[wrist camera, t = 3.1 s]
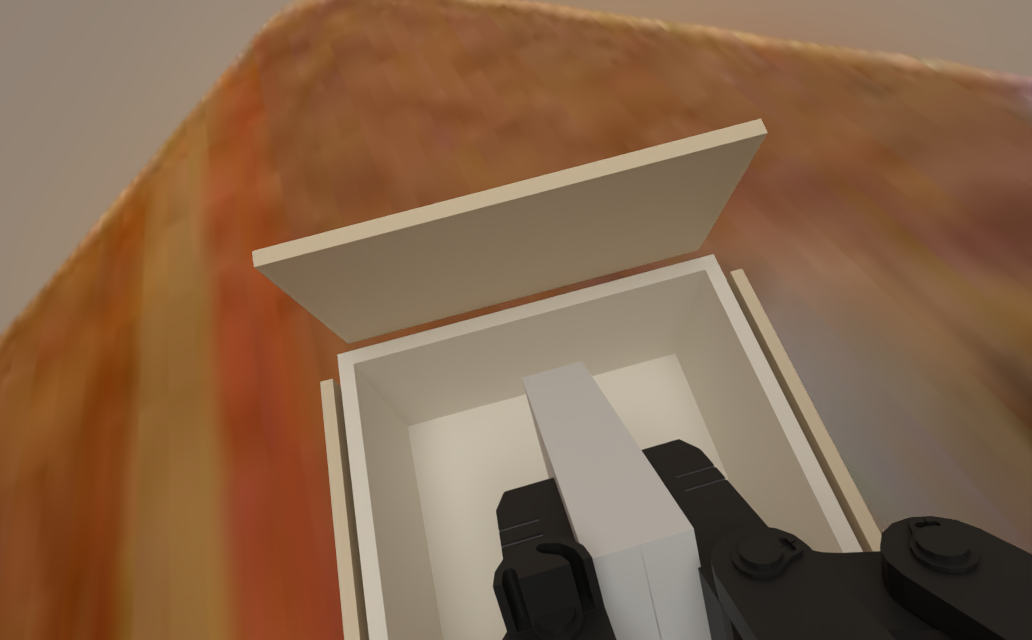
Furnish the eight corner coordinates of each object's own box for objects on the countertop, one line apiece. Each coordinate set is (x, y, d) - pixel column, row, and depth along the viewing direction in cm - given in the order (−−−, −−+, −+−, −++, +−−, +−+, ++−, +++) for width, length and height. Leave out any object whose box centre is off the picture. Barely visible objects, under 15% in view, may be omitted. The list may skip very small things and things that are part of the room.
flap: (694, 239, 24) (761, 118, 17) (699, 250, 24) (767, 132, 17) (345, 332, 24) (252, 251, 16) (347, 343, 24) (254, 267, 16)
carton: (694, 341, 32) (731, 249, 24) (826, 638, 25) (939, 645, 17) (383, 426, 32) (318, 359, 24) (431, 752, 25) (361, 814, 17)
